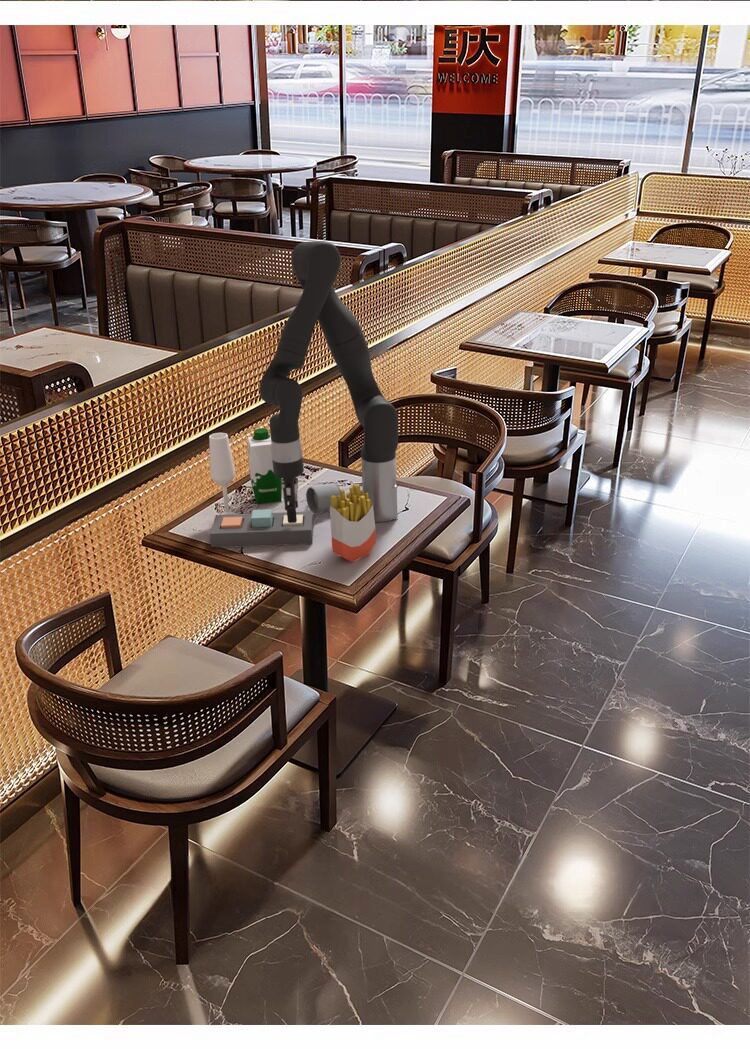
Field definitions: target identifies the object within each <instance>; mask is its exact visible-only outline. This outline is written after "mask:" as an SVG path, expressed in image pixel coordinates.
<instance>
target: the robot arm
mask: <svg viewBox="0 0 750 1049" xmlns="http://www.w3.org/2000/svg"><path fill="white" fill-rule="evenodd" d="M291 253H292V254H291V258H290V259H291V261H290V262H291V266H292V269H293V270H292V271H293V272H294V275H295V277H296V279H297V281H298V283H299V285H300V286H301V288H302V293H301V296H300V298H299V300H298V302H297V304H296V306H295V307H294V309H293V310H292V312H291V313H290V315H289V316H288V319H287V320H286V322H285V324H284V326H283V328H282V330H281V334H280V337H279V340H278V344H277V347H276V351H275V355H274V357H273V358H272V360H271V362H270V363H269V365H268V367H267V368H266V370H265V371H264V374H263V376H262V378H261V380H260V383H259V395H260V397H261V400H263V402H265V403H266V404H270V405H273V406H277V407H279V408H278V409H279V412H278V413H275V414H273V415H272V416H271V417H270V418H269V432H270V435H271V453H272V462H273V472H274V475H275V476H276V477H279V478H282V499H283V501H284V511H285V512H287V518H288V523H296V522H297V517H296V512H297V509H298V507H299V504H298V502H299V501H298V490H299V478H298V477H300V476H302V474H304V471H305V468H304V466H305V465H304V457H303V448H302V442H301V437H300V427H299V425H300V424H299V419H300V415H301V409H302V402H303V391H302V390H303V389H302V387H301V385H300V384H299V382H298V381H297V380H296V379H294V378H291V377H288V376H289V375H290V373H291V372H292V371H295V370H299V369H302V368H303V366H304V364H305V361H306V357H307V355H308V350H309V346H310V343H311V339H312V336H313V333H314V330H315V328H316V325H317V322H318V324H319V326H320V329H321V331H322V333H323V337H324V339H325V342H326V343H327V346H328V348H329V351H330V353H331V356H332V358H333V360H334V363H335V365H336V366H337V368H338V369H337V370H339V373H340V375H341V377H342V378H343V380H344V382H345V384H346V387H347V389H348V392H349V394H350V398H351V401H352V403H353V404H352V405H353V409H354V412H355V416H356V419H357V420H358V422H359V424H360V425H361V426H362V427H363V434H364V435H363V436H364V438H363V439H364V440H363V443H364V444H363V445H361V448H360V460H361V463H360V464H361V484H362V485H361V487H362V489H361V490H363V491H364V493H369V497H370V499H371V501H372V503H373V510H374V520H375V523H382V522H384V523H385V522H389V521H392V520H396V519H398V485H397V452H396V451H397V449H398V446H399V445H398V444H399V415H398V411H397V409H396V407H395V406H394V405H393V404H392V403H391V402H390V401H388V399H386V398H385V396H384V395H383V393H382V392H381V389H380V388H379V385H378V383H377V381H376V378H375V377H374V373H373V370H372V362H371V361H372V360H371V355H370V349H369V346H368V342H367V340H366V337H365V335H364V332H363V330H362V327H361V325H360V323H359V322H358V319H357V318H356V316H354V314H353V313H352V311H351V310H350V309H349V308H348V307H347V305H345V303H344V302H343V300H341V298H340V297H339V296H338V294H337V292H336V291H335V288H334V283H335V281H336V278H337V276H338V274H339V271H340V268H341V263H342V262H341V254H340V250H339V249H338V247H336V246H335V244H333V243H332V242H330V241H325V240H316V241H315V240H314V241H313V240H311V241H303V242H300V243H299V244H297V245H296V246H295V247H294V248H293V250H292V252H291Z"/></svg>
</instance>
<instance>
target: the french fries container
mask: <svg viewBox="0 0 750 1049" xmlns="http://www.w3.org/2000/svg"><path fill="white" fill-rule="evenodd" d="M348 489H349V492H347V493H346V492H345V489H340V491H341V496H340V495H339V496H337V498H336V496H335V495H332V496H330V498H331V506H330V510H329V512H330V513H329V514H330V532H331V533H330V534H331V536H330V537H331V550H332V553H333V554H336V555H337V556H339V557H341V558H343V559H345V560H347V561H349V562H350V563H354V562H355V561H358V560H360V559H362V558H365V557H366V556H368V555H369V554H370V553H371V551H372V549H373V547H374V546H375V545H376V541H377V538H376V536H377V535H376V522H375V520H374V510H373V503H372V501H371V499H370V497H369V493H364V491H363V490H362V489H361V484H359V483H354V484H352V486H350V487H349V488H348Z"/></svg>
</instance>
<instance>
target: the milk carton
mask: <svg viewBox="0 0 750 1049" xmlns="http://www.w3.org/2000/svg"><path fill="white" fill-rule="evenodd" d="M247 456H248V465H249V467H248V468H249V477H250V485H251V487H252V488H251V489H252V490H253V494H254V498H255V501H256V504H257V505H266V504H273V503H274V504H275V503H282V499H283V489H282V479H283V478H279V477H276V476H275V475H274V472H273V462H272V453H271V435H270V434H269V430H268V428H263V427H262V428H256V429H254V430H253V435H252V436H248V437H247Z"/></svg>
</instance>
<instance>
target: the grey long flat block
mask: <svg viewBox="0 0 750 1049" xmlns="http://www.w3.org/2000/svg"><path fill="white" fill-rule="evenodd" d="M272 513H273V525H272V527H254V528H252V522H251V517H252V513H236V514H229V515H220V514H215V516H214V520H213V523H212V527H211V529H210V530H209V531H210V532H209V539H210V545H211V546H210V547H216V548H235V547H236V548H237V547H261V546H263V547H265V546H266V547H267V546H268V547H269V546H291V545H313V541H314V531H315V529H314V528H315V519H314V513H313V511H310V510H308V511H296V515H303V521H304V526H283V519H284V515H287V511H285V512H283V511H282V512H272ZM223 517H242V518H243V525H242V528H228V529H221V523H222V520H223ZM313 530H314V531H313Z"/></svg>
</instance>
